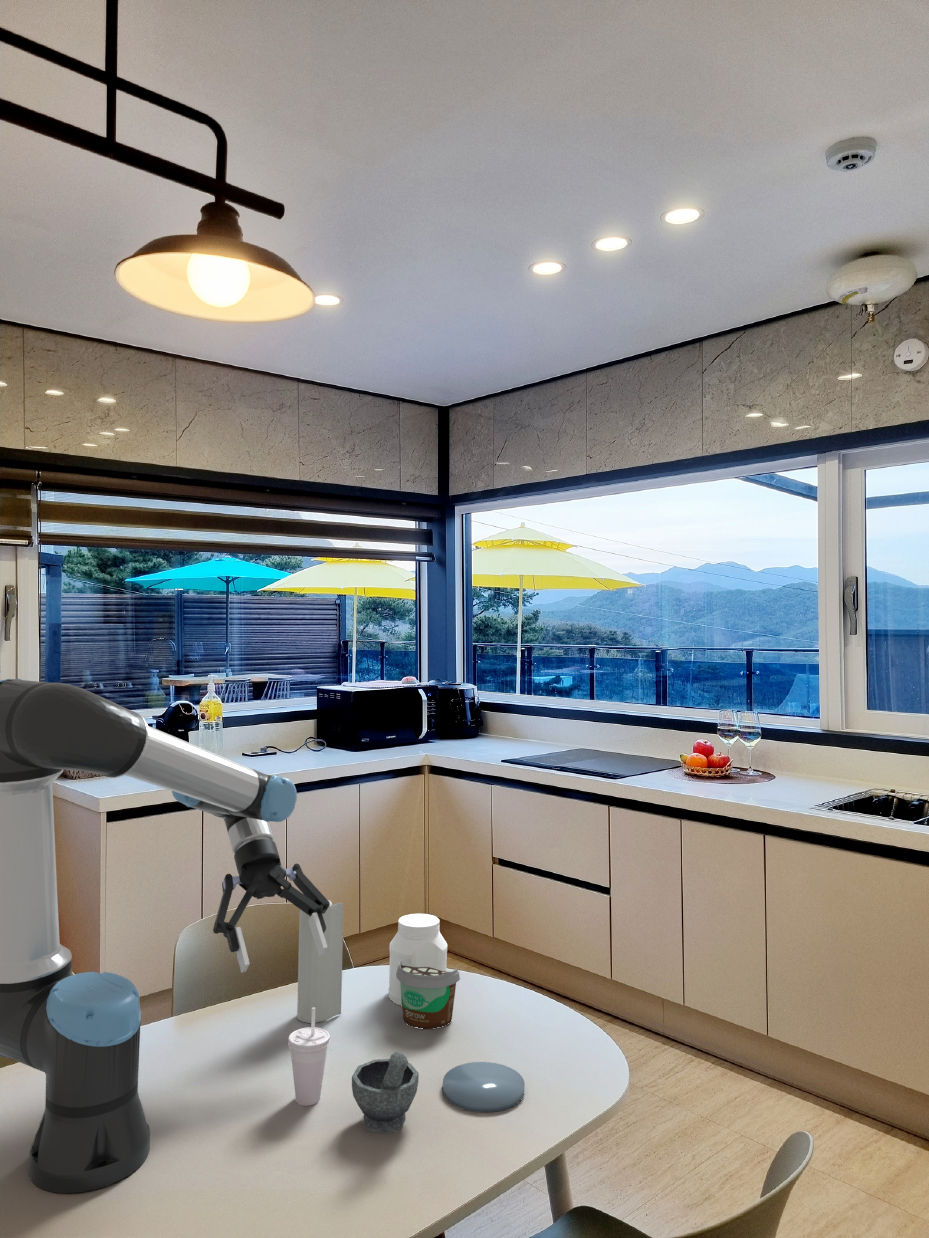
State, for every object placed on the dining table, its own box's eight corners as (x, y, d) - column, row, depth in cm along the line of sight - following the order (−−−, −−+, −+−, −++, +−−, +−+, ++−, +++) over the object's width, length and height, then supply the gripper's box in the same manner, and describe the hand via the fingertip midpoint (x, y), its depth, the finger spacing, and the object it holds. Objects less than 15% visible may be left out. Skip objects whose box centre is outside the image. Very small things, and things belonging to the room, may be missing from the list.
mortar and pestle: (343, 1111, 132) (345, 1031, 132) (401, 1097, 136) (403, 1020, 136) (368, 1152, 121) (370, 1065, 122) (430, 1136, 126) (432, 1052, 126)
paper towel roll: (290, 1019, 162) (292, 904, 162) (309, 1007, 167) (311, 895, 168) (322, 1027, 159) (325, 910, 159) (341, 1014, 164) (343, 900, 165)
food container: (385, 1026, 160) (386, 971, 160) (397, 1012, 166) (398, 959, 166) (448, 1036, 156) (450, 980, 157) (459, 1022, 162) (460, 968, 162)
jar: (435, 982, 180) (436, 909, 181) (453, 1000, 172) (455, 924, 172) (382, 990, 176) (383, 915, 176) (398, 1009, 167) (399, 931, 167)
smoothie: (324, 1110, 132) (326, 1017, 132) (282, 1109, 132) (284, 1016, 132) (332, 1088, 138) (334, 999, 138) (291, 1087, 138) (293, 998, 138)
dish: (518, 1117, 131) (518, 1108, 131) (434, 1106, 134) (434, 1098, 134) (529, 1074, 144) (529, 1066, 144) (452, 1064, 146) (452, 1057, 146)
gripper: (312, 850, 166) (346, 955, 153) (179, 869, 152) (204, 986, 140) (324, 828, 162) (360, 934, 149) (189, 846, 148) (216, 964, 135)
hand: (285, 959), depth 144 cm, fingers open, 13 cm apart
